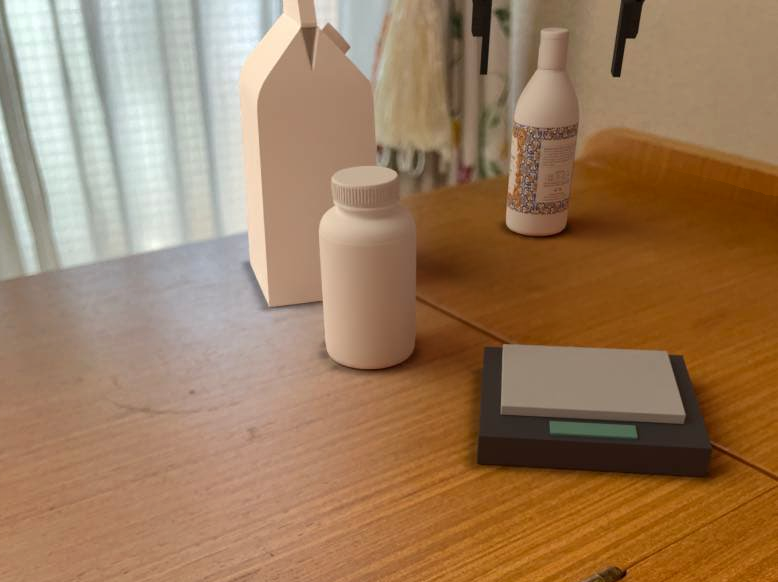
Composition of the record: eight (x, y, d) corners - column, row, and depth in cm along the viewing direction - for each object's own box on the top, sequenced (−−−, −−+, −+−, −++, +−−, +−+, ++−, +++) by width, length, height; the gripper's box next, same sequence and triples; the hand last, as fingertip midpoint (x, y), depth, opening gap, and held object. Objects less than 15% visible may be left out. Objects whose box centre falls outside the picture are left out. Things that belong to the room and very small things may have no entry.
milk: (250, 262, 94) (219, -23, 77) (353, 251, 96) (345, -29, 80) (269, 307, 85) (239, -6, 68) (383, 293, 87) (380, -14, 71)
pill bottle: (307, 357, 76) (294, 180, 67) (358, 324, 81) (354, 154, 72) (382, 380, 73) (380, 196, 63) (431, 344, 78) (436, 169, 68)
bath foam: (504, 216, 104) (519, 24, 91) (563, 217, 103) (586, 24, 91) (506, 237, 98) (522, 35, 86) (568, 238, 98) (593, 35, 85)
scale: (676, 381, 72) (685, 345, 70) (705, 477, 61) (715, 438, 59) (482, 372, 74) (485, 337, 72) (476, 463, 63) (479, 425, 61)
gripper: (434, -191, 76) (427, 78, 89) (729, -195, 73) (676, 83, 87) (440, -190, 82) (432, 64, 95) (714, -193, 79) (666, 67, 92)
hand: (549, 73), depth 91 cm, fingers open, 13 cm apart
